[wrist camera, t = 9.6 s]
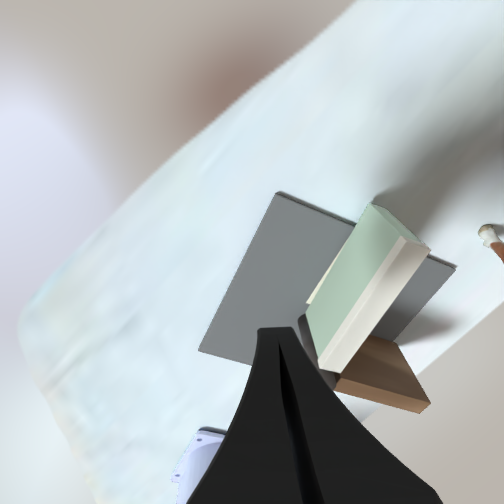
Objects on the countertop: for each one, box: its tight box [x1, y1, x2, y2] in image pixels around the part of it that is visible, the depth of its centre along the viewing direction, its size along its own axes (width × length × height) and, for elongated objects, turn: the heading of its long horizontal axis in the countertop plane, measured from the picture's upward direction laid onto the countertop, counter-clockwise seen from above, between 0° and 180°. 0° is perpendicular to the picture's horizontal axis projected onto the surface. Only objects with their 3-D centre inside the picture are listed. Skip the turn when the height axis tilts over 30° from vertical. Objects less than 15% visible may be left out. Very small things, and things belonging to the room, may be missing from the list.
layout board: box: [198, 193, 456, 366], centre depth 24 cm, size 14×14×1 cm
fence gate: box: [305, 203, 431, 373], centre depth 19 cm, size 9×1×5 cm, turn 160°
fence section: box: [297, 314, 431, 414], centre depth 22 cm, size 1×9×6 cm, turn 66°
